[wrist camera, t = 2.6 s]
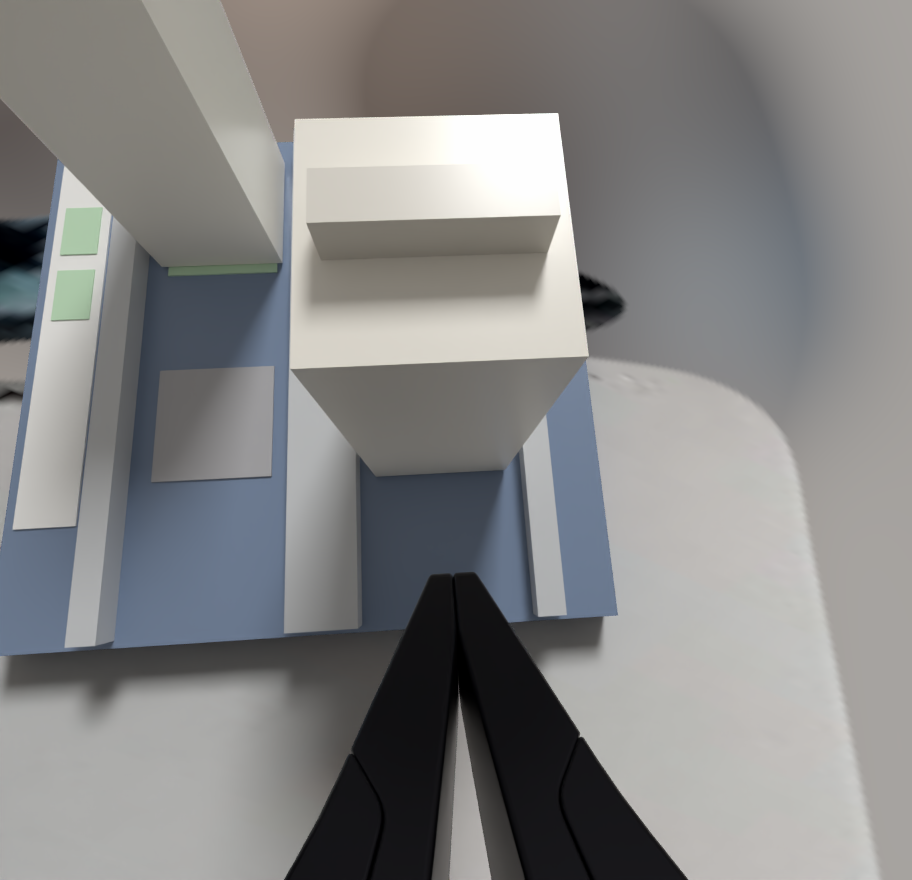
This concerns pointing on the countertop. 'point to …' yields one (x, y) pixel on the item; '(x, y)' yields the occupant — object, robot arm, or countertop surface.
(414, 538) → the switch bank
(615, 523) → the countertop surface
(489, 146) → the tab near
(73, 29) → the tab far
